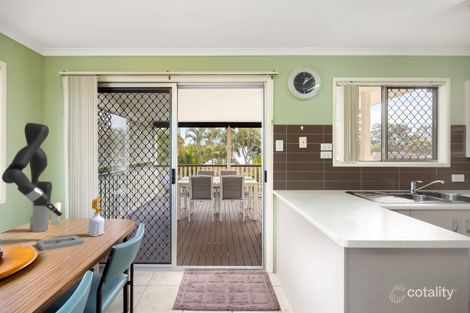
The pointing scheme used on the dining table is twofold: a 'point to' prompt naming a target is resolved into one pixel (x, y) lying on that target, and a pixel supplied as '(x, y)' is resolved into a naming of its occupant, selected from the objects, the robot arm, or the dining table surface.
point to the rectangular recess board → (59, 242)
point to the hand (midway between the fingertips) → (59, 214)
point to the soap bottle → (96, 220)
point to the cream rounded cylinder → (55, 218)
